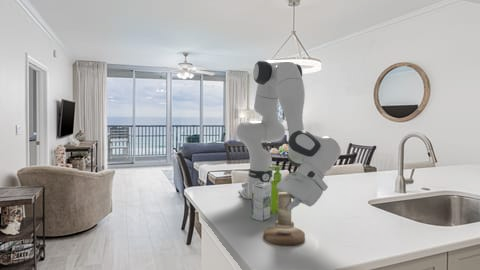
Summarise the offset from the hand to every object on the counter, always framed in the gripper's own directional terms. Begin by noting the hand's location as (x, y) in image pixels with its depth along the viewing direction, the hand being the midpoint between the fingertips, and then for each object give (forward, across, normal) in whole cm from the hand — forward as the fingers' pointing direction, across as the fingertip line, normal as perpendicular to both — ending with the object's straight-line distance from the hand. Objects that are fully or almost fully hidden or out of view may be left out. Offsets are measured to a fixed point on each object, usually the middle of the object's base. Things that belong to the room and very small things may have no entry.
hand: (282, 207), depth 103 cm
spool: (+4, 0, +5) cm, 6 cm away
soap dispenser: (-1, -26, +16) cm, 31 cm away
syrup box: (+6, -20, +9) cm, 23 cm away
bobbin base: (+7, 0, +8) cm, 11 cm away
